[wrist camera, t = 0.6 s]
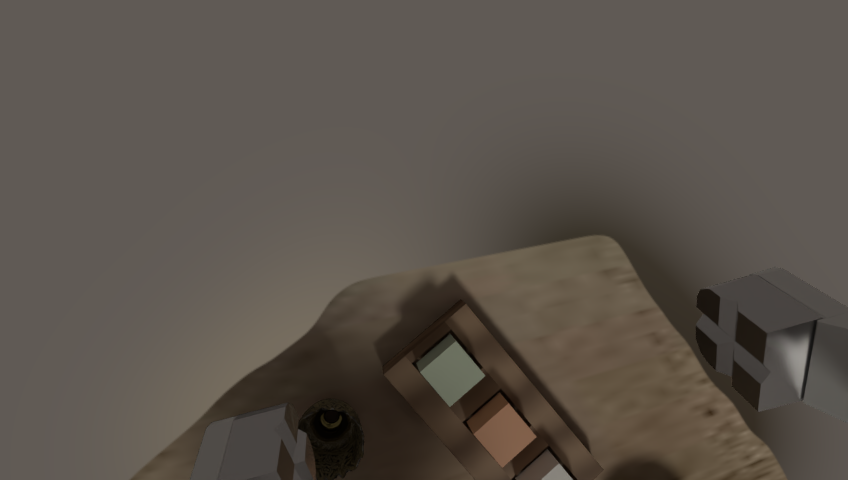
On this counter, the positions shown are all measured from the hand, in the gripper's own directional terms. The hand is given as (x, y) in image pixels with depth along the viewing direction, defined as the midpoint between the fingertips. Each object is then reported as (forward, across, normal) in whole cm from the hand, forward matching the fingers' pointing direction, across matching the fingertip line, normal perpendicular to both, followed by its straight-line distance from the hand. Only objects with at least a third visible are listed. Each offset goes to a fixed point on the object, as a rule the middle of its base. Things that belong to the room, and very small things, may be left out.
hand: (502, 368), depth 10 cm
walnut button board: (+36, +4, -40) cm, 54 cm away
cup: (+37, -14, -34) cm, 53 cm away
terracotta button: (+34, +4, -39) cm, 52 cm away
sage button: (+37, 0, -31) cm, 48 cm away
